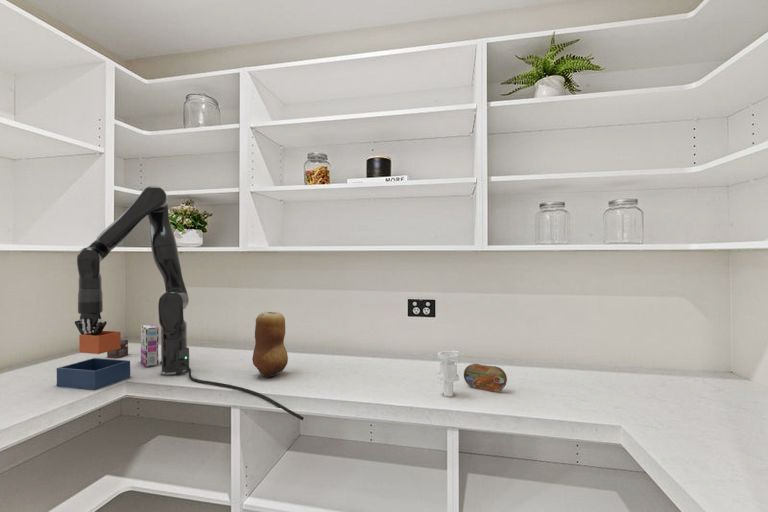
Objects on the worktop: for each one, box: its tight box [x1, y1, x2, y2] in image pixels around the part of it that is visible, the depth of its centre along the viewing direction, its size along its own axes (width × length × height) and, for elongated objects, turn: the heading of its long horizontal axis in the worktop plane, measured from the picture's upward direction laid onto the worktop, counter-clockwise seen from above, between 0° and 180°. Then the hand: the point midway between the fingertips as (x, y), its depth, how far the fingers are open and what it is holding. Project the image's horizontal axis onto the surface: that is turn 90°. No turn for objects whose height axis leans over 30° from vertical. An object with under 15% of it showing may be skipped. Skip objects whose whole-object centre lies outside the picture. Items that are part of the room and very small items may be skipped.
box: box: [106, 339, 129, 359], centre depth 188 cm, size 6×6×7 cm
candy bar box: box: [140, 324, 159, 368], centre depth 175 cm, size 11×5×16 cm, turn 42°
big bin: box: [56, 357, 131, 391], centre depth 151 cm, size 18×15×7 cm
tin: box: [463, 363, 508, 393], centre depth 141 cm, size 15×3×8 cm, turn 56°
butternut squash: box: [252, 311, 289, 379], centre depth 158 cm, size 14×13×25 cm
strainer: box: [437, 350, 460, 397], centre depth 136 cm, size 7×7×15 cm
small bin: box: [78, 330, 122, 355], centre depth 151 cm, size 9×9×6 cm
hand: (90, 346), depth 152 cm, fingers closed on small bin, 1 cm apart
